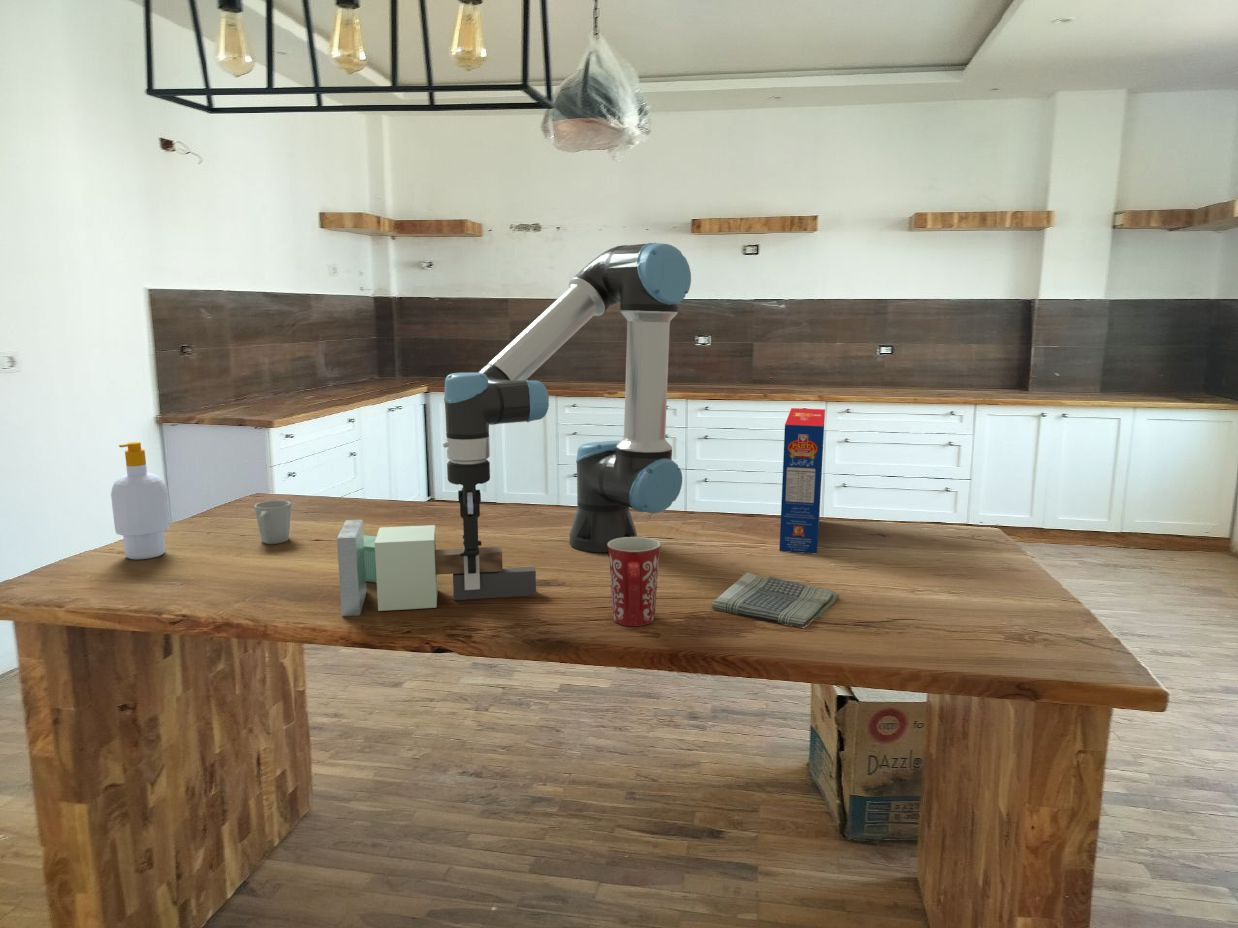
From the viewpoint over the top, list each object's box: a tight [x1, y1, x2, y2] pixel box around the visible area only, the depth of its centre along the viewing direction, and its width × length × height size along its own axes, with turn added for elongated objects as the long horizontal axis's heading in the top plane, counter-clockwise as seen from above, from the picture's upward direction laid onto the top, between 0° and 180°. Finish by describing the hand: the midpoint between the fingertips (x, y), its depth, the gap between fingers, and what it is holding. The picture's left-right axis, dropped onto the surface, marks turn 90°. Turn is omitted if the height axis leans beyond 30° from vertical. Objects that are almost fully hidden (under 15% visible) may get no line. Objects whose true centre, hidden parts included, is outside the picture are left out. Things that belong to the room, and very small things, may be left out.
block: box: [375, 524, 439, 612], centre depth 154 cm, size 10×10×12 cm
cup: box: [254, 499, 292, 545], centre depth 190 cm, size 8×10×8 cm
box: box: [363, 534, 377, 584], centre depth 167 cm, size 7×14×8 cm, turn 73°
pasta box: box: [779, 407, 826, 554], centre depth 196 cm, size 28×8×28 cm, turn 166°
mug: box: [607, 536, 662, 627], centre depth 144 cm, size 13×9×14 cm
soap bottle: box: [110, 441, 171, 560], centre depth 179 cm, size 10×10×24 cm
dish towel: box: [711, 572, 840, 628], centre depth 155 cm, size 19×18×3 cm
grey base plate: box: [336, 519, 368, 617], centre depth 152 cm, size 3×12×14 cm, turn 11°
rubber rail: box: [452, 566, 537, 601], centre depth 158 cm, size 15×2×5 cm, turn 101°
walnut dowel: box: [435, 546, 503, 576], centre depth 155 cm, size 16×4×4 cm, turn 101°
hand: (472, 584), depth 157 cm, fingers closed on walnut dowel, 4 cm apart
